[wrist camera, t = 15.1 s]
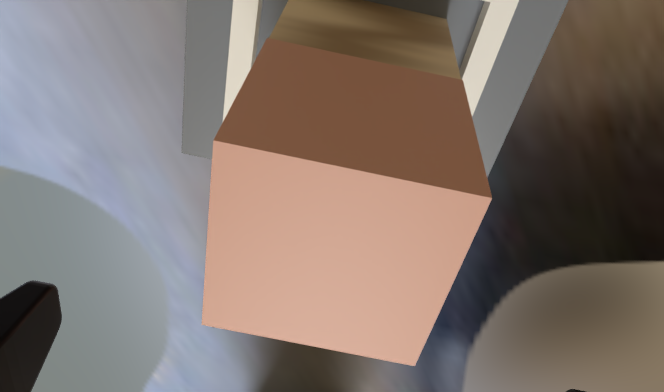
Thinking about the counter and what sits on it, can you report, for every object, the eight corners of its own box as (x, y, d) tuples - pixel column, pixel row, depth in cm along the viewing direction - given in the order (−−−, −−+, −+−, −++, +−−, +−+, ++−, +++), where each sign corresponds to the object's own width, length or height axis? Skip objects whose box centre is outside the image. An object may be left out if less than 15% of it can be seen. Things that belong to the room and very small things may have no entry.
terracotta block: (463, 80, 14) (492, 198, 10) (409, 228, 17) (414, 366, 13) (266, 37, 13) (213, 140, 9) (248, 195, 16) (201, 325, 12)
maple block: (446, 19, 18) (461, 83, 14) (404, 146, 21) (407, 231, 17) (296, -16, 17) (267, 40, 13) (276, 118, 20) (247, 197, 16)
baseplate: (576, -44, 17) (593, -30, 16) (467, 200, 23) (472, 227, 22) (201, -135, 17) (183, -128, 15) (189, 140, 23) (175, 163, 21)
